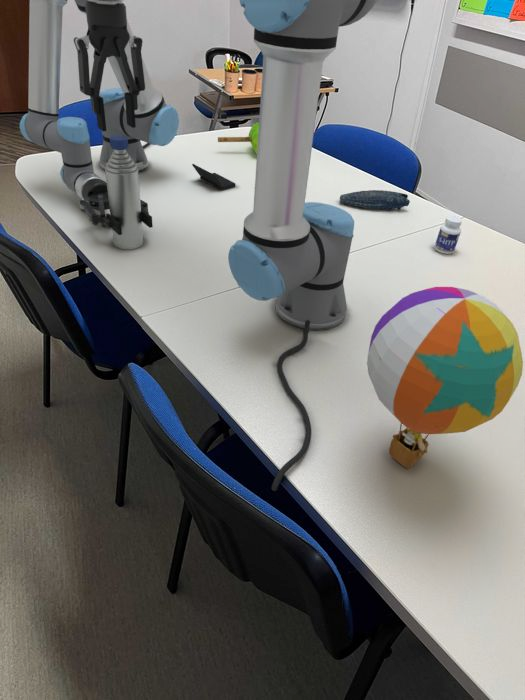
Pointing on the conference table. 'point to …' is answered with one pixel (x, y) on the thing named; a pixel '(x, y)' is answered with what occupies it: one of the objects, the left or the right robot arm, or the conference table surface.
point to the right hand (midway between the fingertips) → (117, 127)
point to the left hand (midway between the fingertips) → (135, 225)
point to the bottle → (124, 199)
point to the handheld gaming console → (214, 178)
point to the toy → (442, 365)
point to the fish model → (376, 199)
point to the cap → (118, 142)
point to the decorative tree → (252, 137)
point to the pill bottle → (448, 235)
